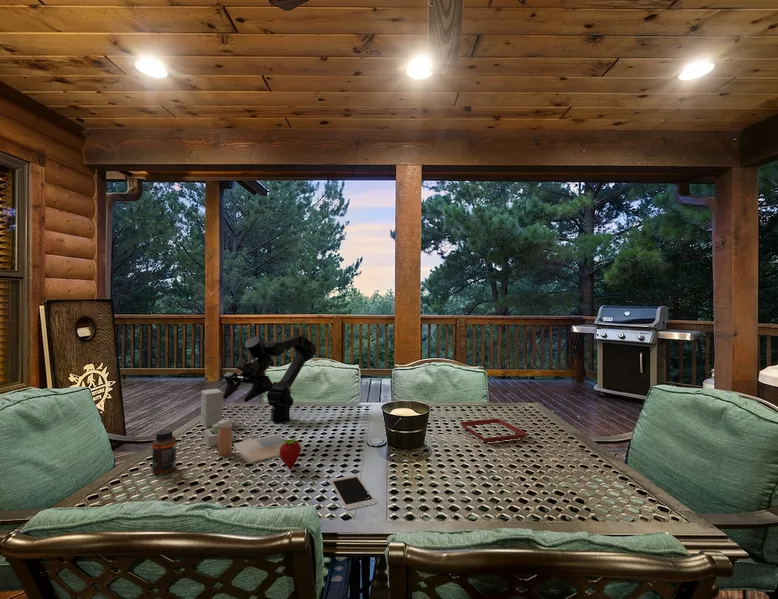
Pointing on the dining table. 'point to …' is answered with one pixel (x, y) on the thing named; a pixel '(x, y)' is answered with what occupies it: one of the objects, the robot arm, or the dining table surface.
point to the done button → (215, 428)
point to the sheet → (260, 448)
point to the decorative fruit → (290, 452)
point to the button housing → (212, 437)
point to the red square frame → (493, 439)
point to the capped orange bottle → (224, 437)
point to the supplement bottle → (164, 452)
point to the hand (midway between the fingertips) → (234, 399)
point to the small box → (211, 406)
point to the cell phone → (351, 492)
